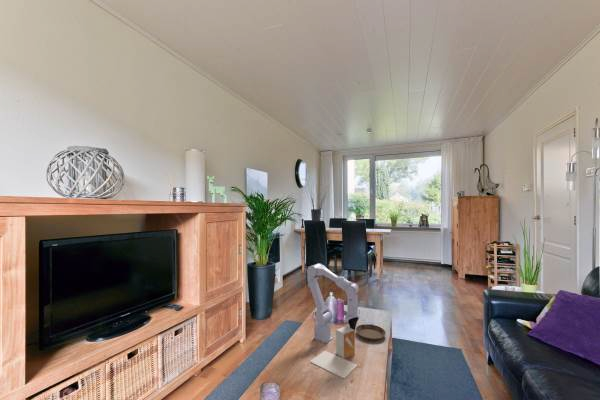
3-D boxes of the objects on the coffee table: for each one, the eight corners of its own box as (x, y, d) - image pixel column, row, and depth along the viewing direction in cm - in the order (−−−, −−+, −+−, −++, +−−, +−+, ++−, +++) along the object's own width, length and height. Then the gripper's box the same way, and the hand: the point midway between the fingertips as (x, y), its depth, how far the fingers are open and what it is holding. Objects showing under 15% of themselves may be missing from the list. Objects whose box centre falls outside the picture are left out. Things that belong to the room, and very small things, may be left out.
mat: (310, 362, 135) (310, 361, 135) (324, 351, 145) (324, 350, 145) (343, 378, 122) (343, 378, 122) (357, 365, 132) (357, 365, 132)
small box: (343, 359, 138) (343, 334, 138) (335, 353, 143) (335, 329, 143) (355, 354, 142) (355, 330, 142) (346, 349, 147) (346, 325, 148)
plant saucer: (389, 343, 154) (389, 337, 154) (359, 342, 154) (359, 337, 154) (380, 328, 172) (380, 324, 172) (353, 328, 172) (353, 323, 172)
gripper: (352, 311, 141) (352, 337, 140) (365, 303, 152) (365, 327, 151) (340, 308, 145) (341, 333, 145) (354, 300, 156) (354, 324, 156)
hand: (352, 330), depth 149 cm, fingers closed
